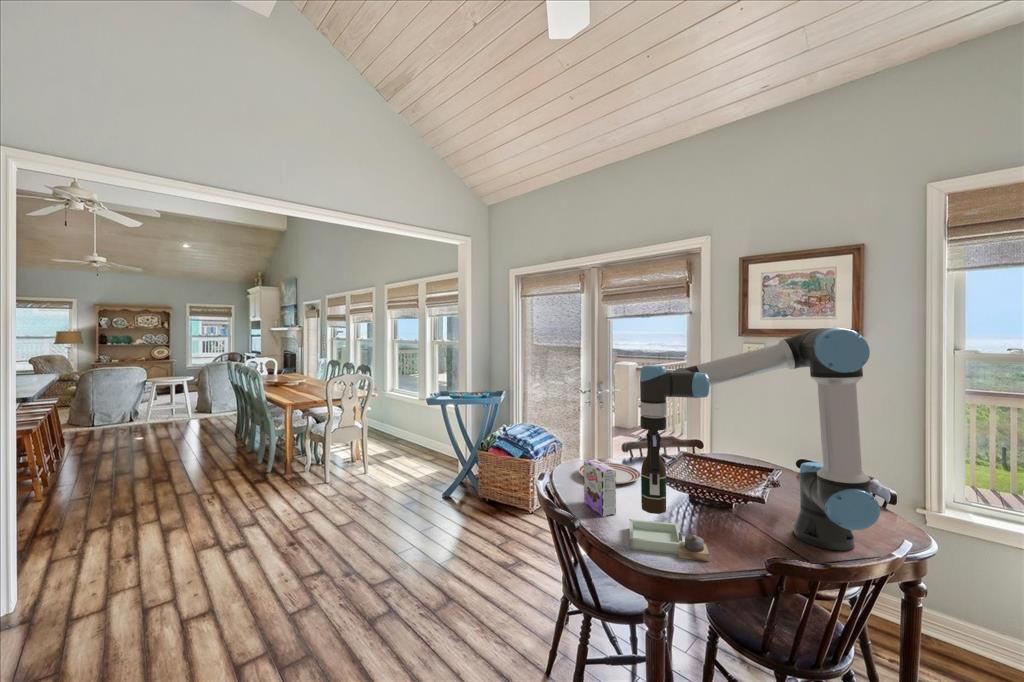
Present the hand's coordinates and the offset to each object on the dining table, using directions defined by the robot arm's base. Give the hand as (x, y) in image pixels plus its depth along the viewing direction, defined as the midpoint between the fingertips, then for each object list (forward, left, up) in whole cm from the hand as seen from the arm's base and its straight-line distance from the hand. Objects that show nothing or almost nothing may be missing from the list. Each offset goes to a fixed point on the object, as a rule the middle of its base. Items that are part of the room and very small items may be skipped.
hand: (653, 489), depth 132 cm
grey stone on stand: (-10, +6, -16) cm, 20 cm away
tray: (0, 0, -16) cm, 16 cm away
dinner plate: (+16, -57, -16) cm, 61 cm away
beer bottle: (0, 0, -6) cm, 6 cm away
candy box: (+18, -21, -16) cm, 32 cm away
